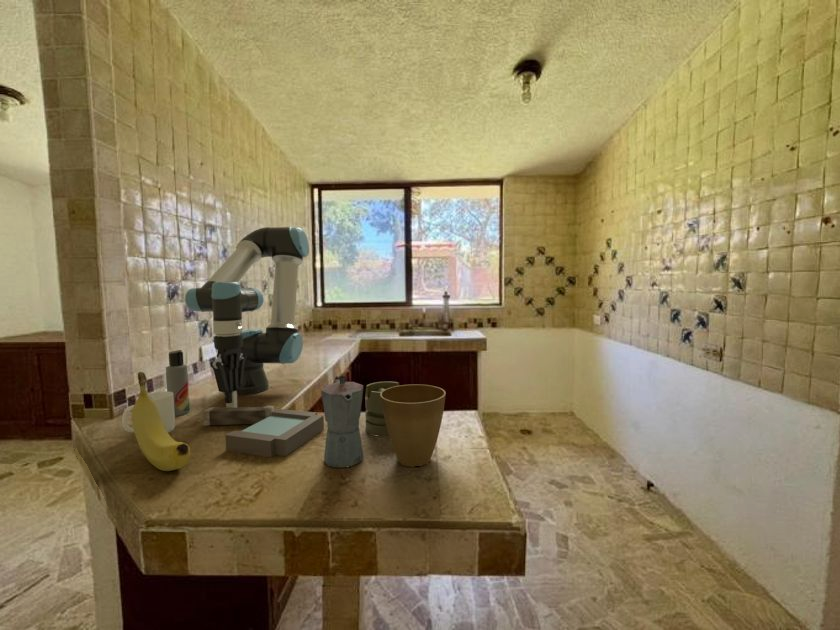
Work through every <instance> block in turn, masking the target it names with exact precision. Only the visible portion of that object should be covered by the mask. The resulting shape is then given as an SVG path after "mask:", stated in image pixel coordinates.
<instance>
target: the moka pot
mask: <svg viewBox="0 0 840 630" xmlns="http://www.w3.org/2000/svg"><path fill="white" fill-rule="evenodd" d="M346 377H347V376H346V375H340V376H335V377H334V382H333V383H330V384H326V385H324V386H323V388H322V389H321V391H320V394H321V400H322V406H323V411H324V412H323V413H324V419H325V420H324V421H325V422H326V424H327V425H326V426H327V430H326V436H325V437H326V438H325V446H324V454H323V456H324V457H323V461H324V463H325V464H326V465H327V466H328V467H330V466H332V467H331V468H333V467H347V466H351V467H353V466H352V465H354V464H356V465H358V464H359V463H361V462H362V460H363V458H364V451H363V450H364V449H363V443H362V438H361V431H360V427H359V426H360V417H361V413H362V402H363V396H364V395H363V393H364V385H363V384H361V383H358V382H355V381H346V380H347V379H346ZM357 463H358V464H357ZM354 466H355V465H354ZM347 468H348V467H347Z"/></svg>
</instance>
